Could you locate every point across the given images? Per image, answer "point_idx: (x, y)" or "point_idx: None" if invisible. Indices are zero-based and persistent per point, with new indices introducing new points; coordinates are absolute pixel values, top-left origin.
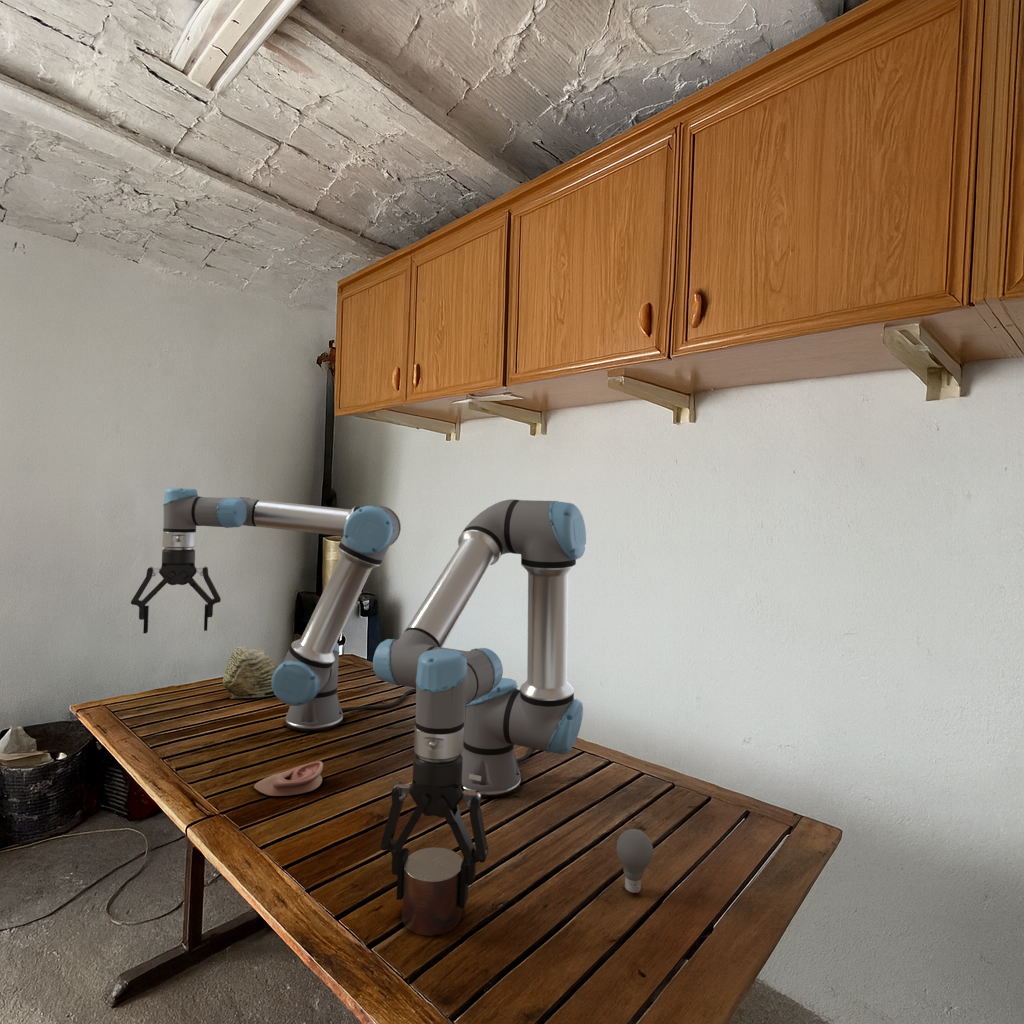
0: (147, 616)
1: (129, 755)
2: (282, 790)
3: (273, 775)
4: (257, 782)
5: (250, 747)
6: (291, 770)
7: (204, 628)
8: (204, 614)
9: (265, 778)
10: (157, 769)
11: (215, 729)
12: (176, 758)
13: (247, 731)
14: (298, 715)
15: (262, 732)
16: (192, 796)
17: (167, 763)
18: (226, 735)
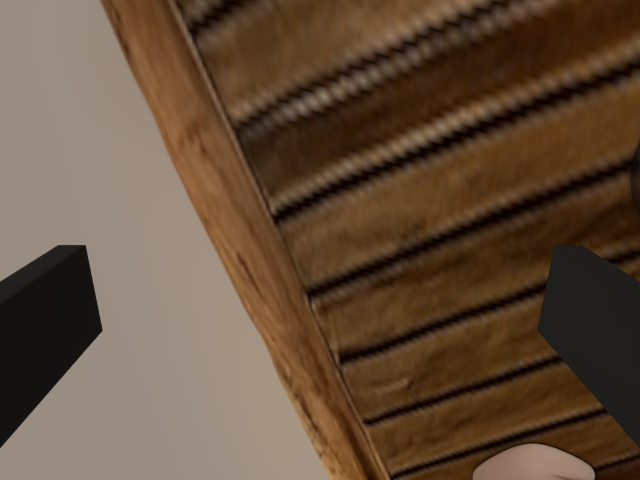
0: (2, 426)
1: (231, 254)
2: None
3: (513, 477)
4: (481, 472)
5: (503, 289)
6: None
7: (551, 341)
8: (636, 441)
9: (497, 474)
10: (302, 348)
11: (436, 127)
12: (337, 303)
13: (518, 173)
14: None
15: (555, 194)
16: (370, 469)
17: (320, 324)
18: (459, 188)
